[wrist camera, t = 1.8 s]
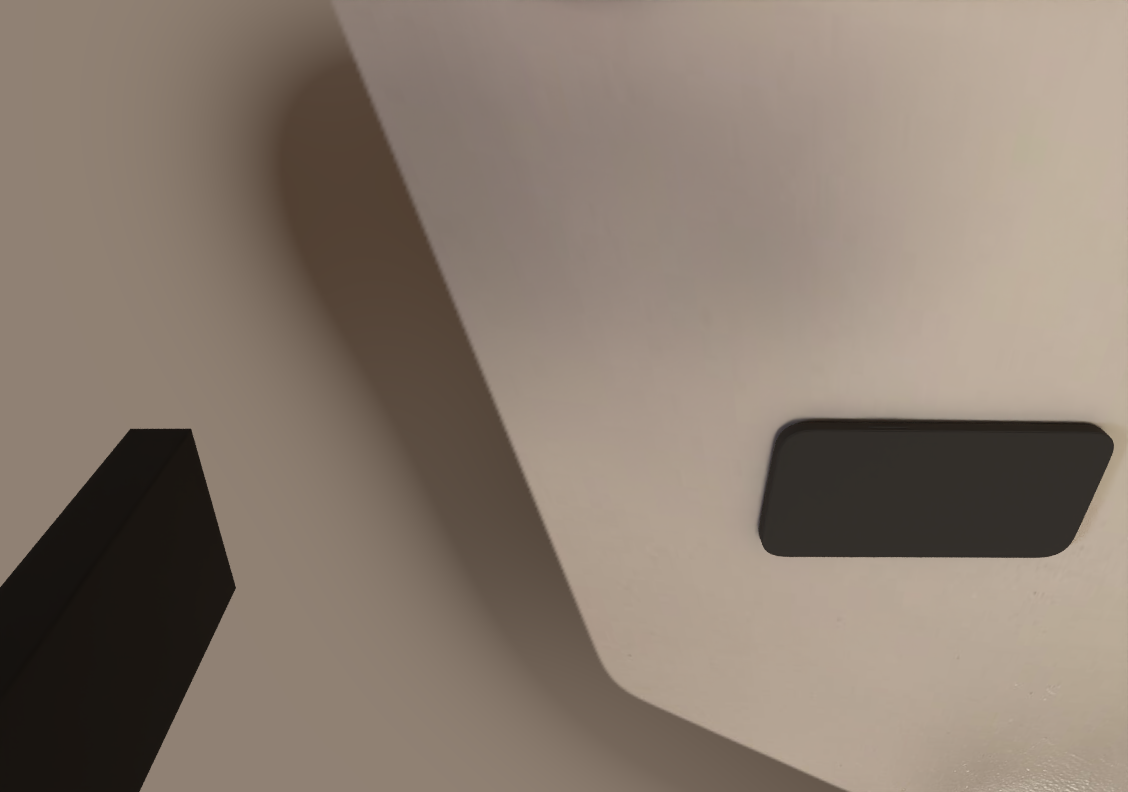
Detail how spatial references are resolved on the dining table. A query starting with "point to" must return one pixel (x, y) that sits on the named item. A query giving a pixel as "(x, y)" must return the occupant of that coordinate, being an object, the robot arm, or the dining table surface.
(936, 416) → the dining table surface
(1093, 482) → the phone
